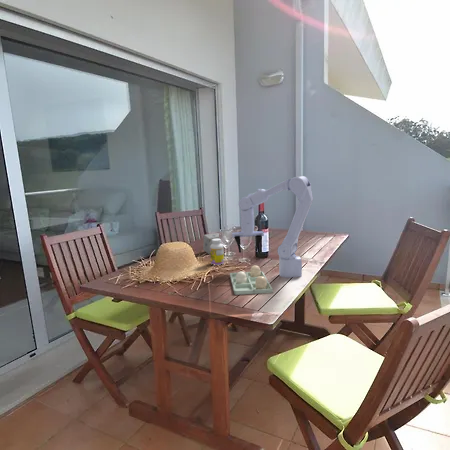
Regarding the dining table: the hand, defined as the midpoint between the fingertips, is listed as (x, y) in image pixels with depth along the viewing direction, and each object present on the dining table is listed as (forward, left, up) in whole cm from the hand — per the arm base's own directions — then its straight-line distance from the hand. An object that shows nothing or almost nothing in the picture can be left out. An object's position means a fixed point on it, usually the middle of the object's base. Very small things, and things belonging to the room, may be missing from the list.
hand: (248, 251), depth 152 cm
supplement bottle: (+14, -14, -10) cm, 22 cm away
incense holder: (+15, -38, -10) cm, 42 cm away
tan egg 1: (-1, +12, -9) cm, 14 cm away
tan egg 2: (-1, +26, -9) cm, 27 cm away
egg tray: (+2, +19, -9) cm, 21 cm away
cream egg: (+6, +19, -9) cm, 21 cm away
